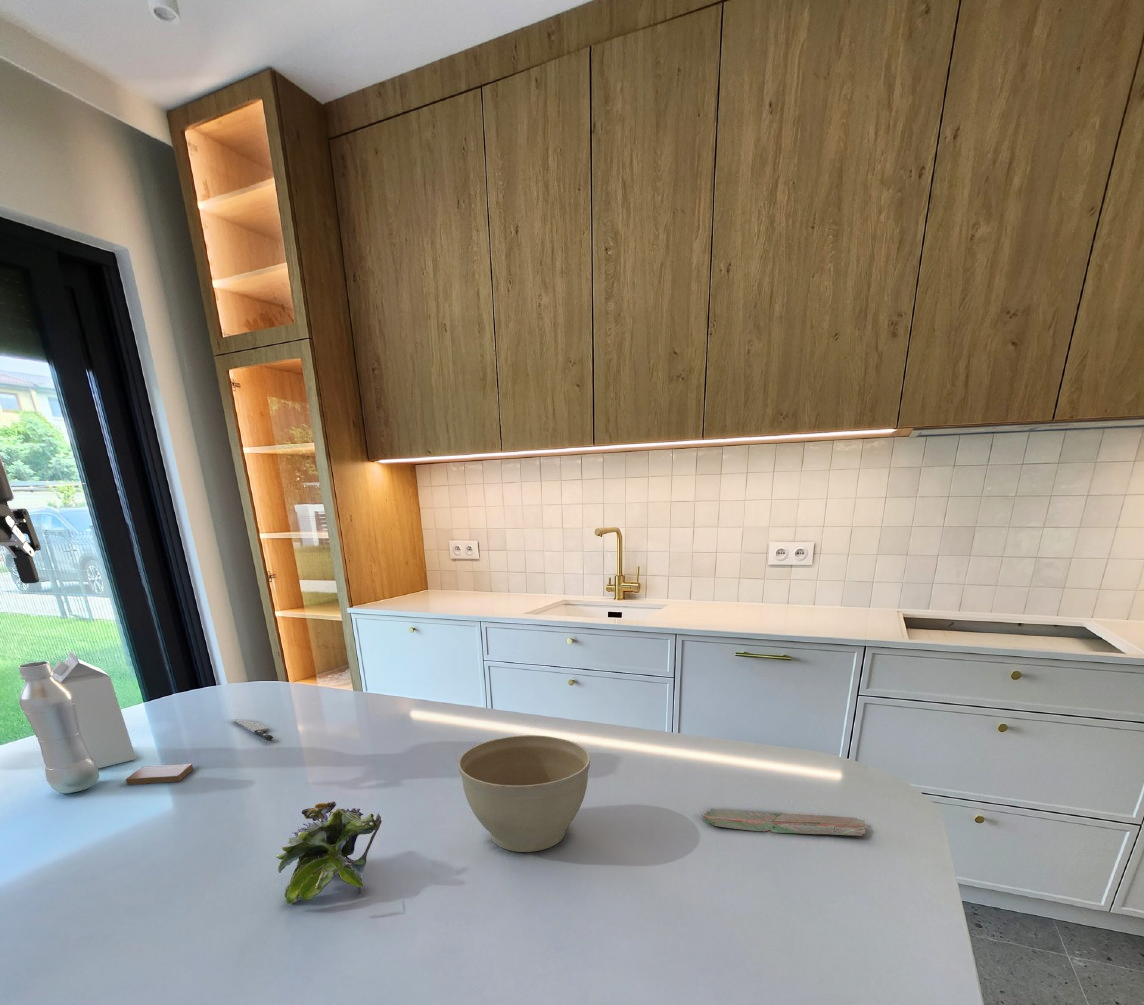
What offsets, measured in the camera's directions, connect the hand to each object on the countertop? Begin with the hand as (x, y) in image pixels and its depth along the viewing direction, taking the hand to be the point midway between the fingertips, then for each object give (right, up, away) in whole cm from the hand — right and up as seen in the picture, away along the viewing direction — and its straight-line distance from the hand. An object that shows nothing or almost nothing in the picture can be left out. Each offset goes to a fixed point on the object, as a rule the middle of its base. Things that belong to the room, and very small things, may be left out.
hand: (10, 587), depth 94 cm
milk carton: (+1, -25, +19) cm, 31 cm away
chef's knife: (+21, -19, +31) cm, 42 cm away
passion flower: (+55, -39, -19) cm, 70 cm away
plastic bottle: (+4, -30, +8) cm, 31 cm away
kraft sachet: (+14, -28, +11) cm, 33 cm away
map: (+109, -34, -9) cm, 114 cm away
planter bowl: (+76, -35, -10) cm, 84 cm away
